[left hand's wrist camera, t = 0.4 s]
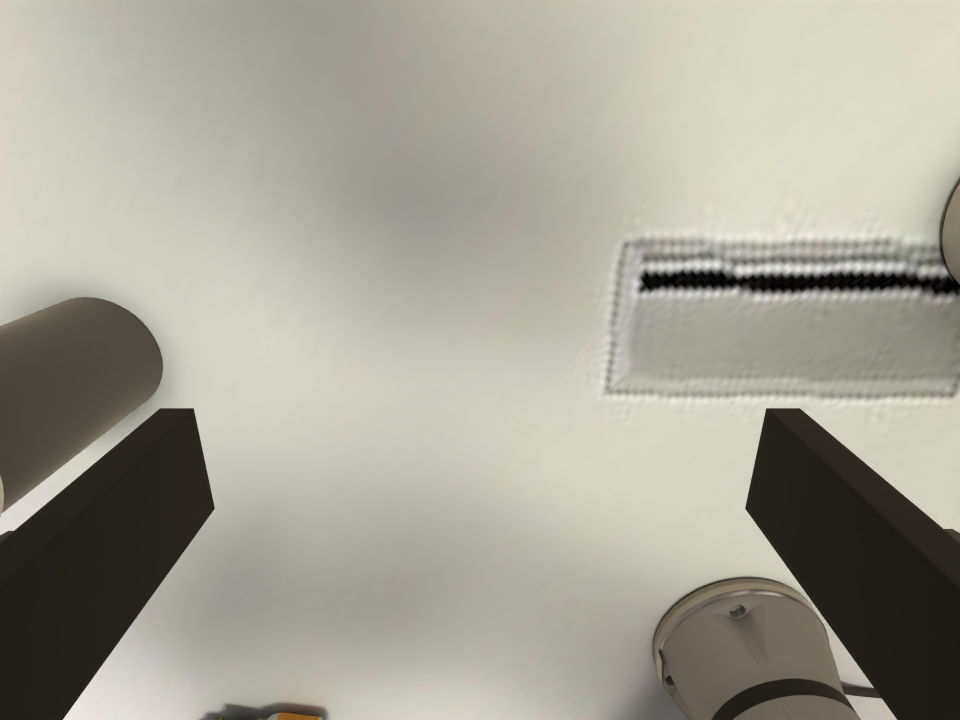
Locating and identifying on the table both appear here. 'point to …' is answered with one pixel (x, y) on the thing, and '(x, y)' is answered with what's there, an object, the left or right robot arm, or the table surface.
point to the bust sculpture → (952, 235)
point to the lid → (1, 496)
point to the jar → (68, 385)
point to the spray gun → (289, 717)
